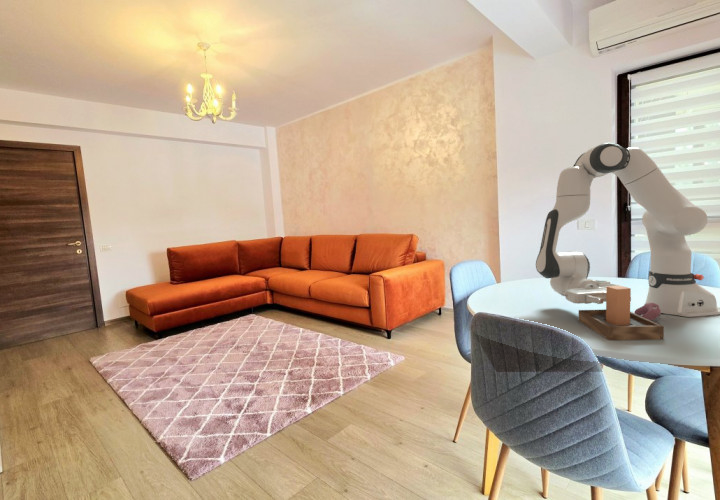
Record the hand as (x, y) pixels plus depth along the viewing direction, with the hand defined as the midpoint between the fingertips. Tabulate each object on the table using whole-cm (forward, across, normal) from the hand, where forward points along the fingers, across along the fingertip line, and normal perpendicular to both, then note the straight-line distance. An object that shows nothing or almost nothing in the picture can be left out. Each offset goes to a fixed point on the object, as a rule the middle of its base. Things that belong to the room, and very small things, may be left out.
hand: (615, 300), depth 112 cm
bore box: (+1, 0, +9) cm, 9 cm away
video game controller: (-6, +17, +10) cm, 20 cm away
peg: (+1, 0, +9) cm, 9 cm away
